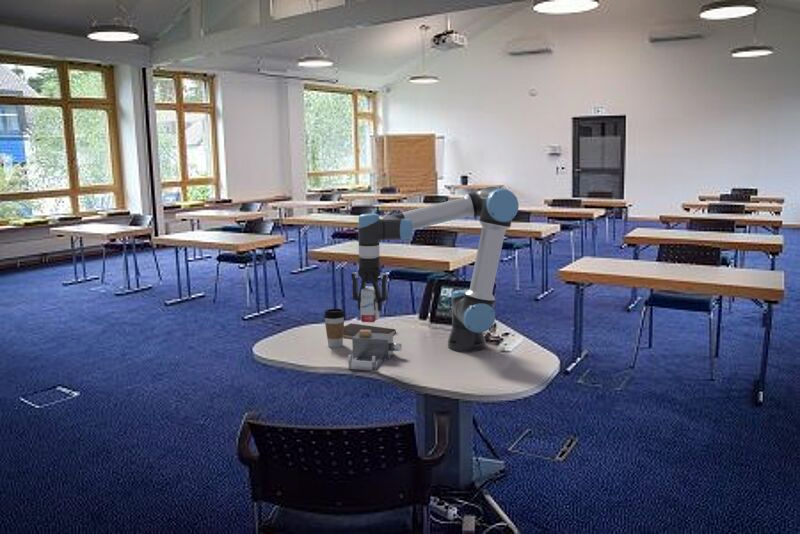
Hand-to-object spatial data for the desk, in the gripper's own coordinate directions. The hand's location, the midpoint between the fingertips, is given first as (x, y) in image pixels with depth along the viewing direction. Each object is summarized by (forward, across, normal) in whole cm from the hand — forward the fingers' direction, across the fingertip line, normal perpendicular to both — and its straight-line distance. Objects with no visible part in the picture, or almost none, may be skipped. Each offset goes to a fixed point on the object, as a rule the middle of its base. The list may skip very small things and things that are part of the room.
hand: (370, 318), depth 246 cm
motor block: (+17, -1, -9) cm, 20 cm away
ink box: (+1, 0, 0) cm, 1 cm away
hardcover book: (+18, +13, -38) cm, 45 cm away
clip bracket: (+17, +2, 0) cm, 17 cm away
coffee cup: (+18, +20, -21) cm, 34 cm away
